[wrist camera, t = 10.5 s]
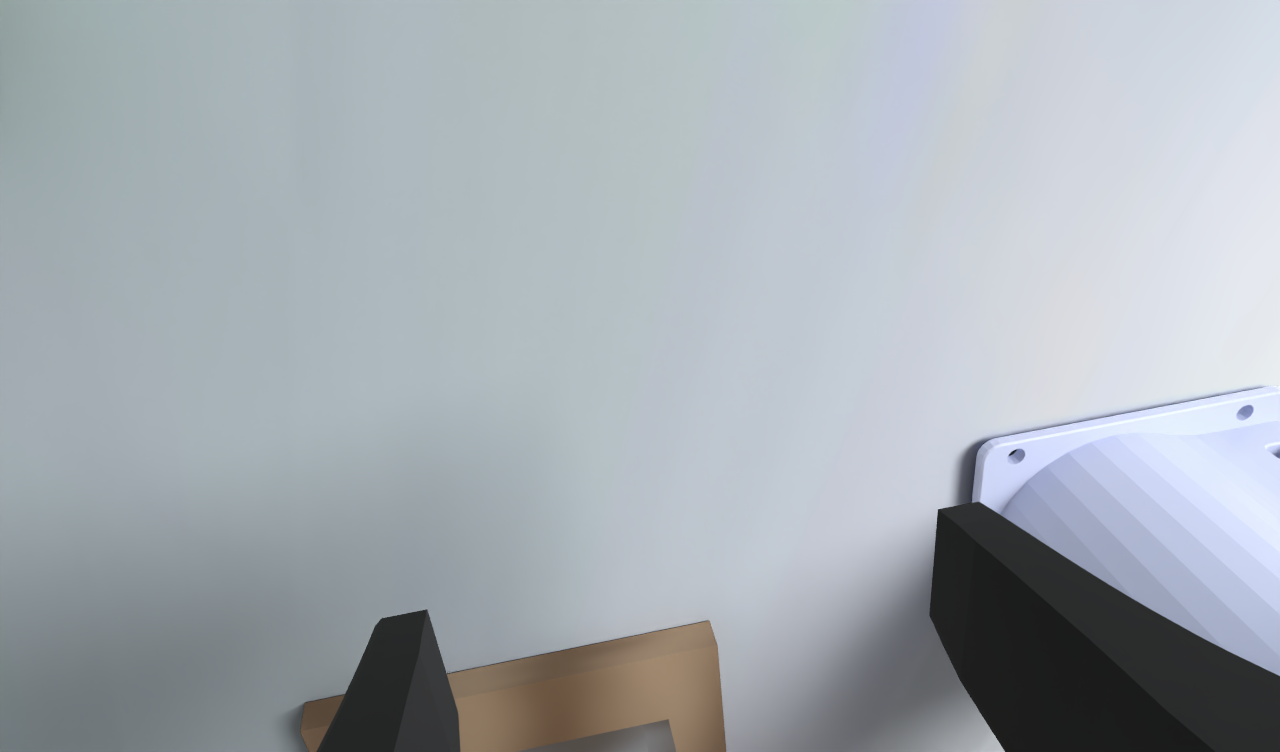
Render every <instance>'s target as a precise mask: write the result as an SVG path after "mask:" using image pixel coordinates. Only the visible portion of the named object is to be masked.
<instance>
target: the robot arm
mask: <svg viewBox="0 0 1280 752" xmlns="http://www.w3.org/2000/svg"><path fill="white" fill-rule="evenodd" d="M1016 449H1017V451H1016V452H1015V453H1014V454H1013V455H1010V456H1009V454H1010V453H1011V452H1012V451H1013V450H1016ZM930 617H931V620H932V622H933V624H934V626H935V628H936V631H937V633H938V635H939V637H940V639H941V641H942V644H943V646H944V648H945V650H946V652H947V654H948V656H949V658H950V660H951V663H952V665H953V667H954V669H955V671H956V673H957V675H958V677H959V679H960V681H961V682H962V684H963V686H964V687H965V689H966V690H967V692H968V694H969V695H970V697H971V698H972V700H973V702H974V703H975V705H976V706H977V708H978V710H979V711H980V713H981V714H982V716H983V718H984V719H985V721H986V722H987V724H988V725H989V727H990V729H991V730H992V732H993V733H994V735H995V736H996V738H997V740H998V741H999V743H1000V744H1001V746H1002V747H1003V749H1004V750H1005V752H1280V387H1279V386H1269V387H1264V388H1258V389H1253V390H1248V391H1242V392H1237V393H1232V394H1227V395H1221V396H1216V397H1211V398H1205V399H1200V400H1195V401H1190V402H1184V403H1179V404H1174V405H1168V406H1163V407H1158V408H1153V409H1147V410H1142V411H1137V412H1131V413H1126V414H1121V415H1116V416H1110V417H1105V418H1100V419H1094V420H1089V421H1084V422H1079V423H1073V424H1068V425H1063V426H1057V427H1052V428H1047V429H1042V430H1036V431H1031V432H1026V433H1020V434H1015V435H1010V436H1005V437H999V438H994V439H992V440H989V441H987V442H986V443H984V444H983V445H982V446H981V448H980V449H979V450H978V453H977V458H976V467H975V477H974V486H973V496H972V503H969V504H963V505H958V506H953V507H948V508H943V509H938V517H937V529H936V541H935V554H934V566H933V578H932V591H931V603H930ZM316 752H461V751H460V734H459V716H458V710H457V707H456V704H455V700H454V697H453V694H452V690H451V687H450V684H449V680H448V677H447V674H446V670H445V667H444V664H443V660H442V657H441V654H440V650H439V647H438V644H437V640H436V637H435V634H434V630H433V627H432V624H431V621H430V617H429V614H428V611H427V610H422V611H417V612H412V613H407V614H402V615H397V616H392V617H387V618H382V619H381V620H380V621H379V622H378V623H377V625H376V626H375V628H374V630H373V633H372V635H371V638H370V640H369V642H368V645H367V647H366V649H365V652H364V654H363V656H362V659H361V661H360V663H359V666H358V668H357V670H356V672H355V674H354V677H353V679H352V681H351V683H350V685H349V687H348V690H347V692H346V694H345V696H344V698H343V700H342V702H341V704H340V706H339V708H338V710H337V712H336V714H335V716H334V718H333V720H332V722H331V724H330V726H329V728H328V730H327V732H326V734H325V736H324V738H323V740H322V742H321V744H320V746H319V748H318V750H317V751H316Z"/></svg>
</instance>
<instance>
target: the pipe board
mask: <svg viewBox="0 0 1280 752" xmlns="http://www.w3.org/2000/svg"><path fill="white" fill-rule="evenodd" d="M447 677H448V680H449V684H450V687H451V690H452V694H453V697H454V700H455V704H456V707H457V710H458V716H459V734H460V751H461V752H726V744H725V732H724V719H723V707H722V695H721V683H720V671H719V659H718V647H717V643H716V640H715V636H714V633H713V630H712V627H711V624H710V621H706V622H701V623H696V624H691V625H686V626H681V627H676V628H671V629H666V630H662V631H657V632H652V633H647V634H642V635H637V636H632V637H627V638H622V639H617V640H612V641H607V642H602V643H598V644H593V645H588V646H583V647H578V648H573V649H568V650H563V651H558V652H553V653H548V654H543V655H538V656H534V657H529V658H524V659H519V660H514V661H509V662H504V663H499V664H494V665H489V666H484V667H479V668H474V669H470V670H465V671H460V672H455V673H450V674H447ZM344 696H345V695H342V696H337V697H332V698H327V699H322V700H317V701H312V702H307V703H305V707H304V712H303V717H302V722H301V728H300V733H301V735H302V737H303V740H304V742H305V744H306V746H307V749H308V751H309V752H316V751H317V750H318V748H319V746H320V744H321V742H322V740H323V738H324V736H325V734H326V732H327V730H328V728H329V726H330V724H331V722H332V720H333V718H334V716H335V714H336V712H337V710H338V708H339V706H340V704H341V702H342V700H343V698H344Z"/></svg>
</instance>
